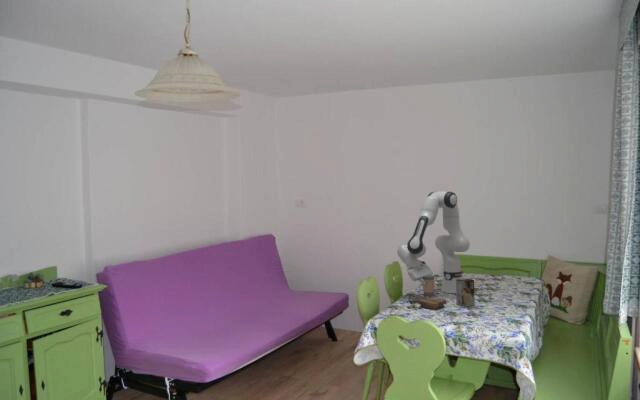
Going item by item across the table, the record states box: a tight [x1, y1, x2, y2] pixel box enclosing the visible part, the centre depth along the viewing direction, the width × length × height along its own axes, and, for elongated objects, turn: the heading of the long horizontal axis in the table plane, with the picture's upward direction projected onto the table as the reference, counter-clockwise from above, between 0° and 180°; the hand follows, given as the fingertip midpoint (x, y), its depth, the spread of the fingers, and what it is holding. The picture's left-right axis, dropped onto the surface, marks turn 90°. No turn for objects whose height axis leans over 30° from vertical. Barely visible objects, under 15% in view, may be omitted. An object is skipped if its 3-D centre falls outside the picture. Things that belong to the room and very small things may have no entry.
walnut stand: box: [418, 296, 447, 311], centre depth 307 cm, size 12×12×4 cm
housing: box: [422, 275, 436, 297], centre depth 320 cm, size 5×5×12 cm
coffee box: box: [455, 277, 476, 308], centre depth 310 cm, size 9×6×16 cm
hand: (428, 283), depth 321 cm, fingers closed on housing, 5 cm apart
